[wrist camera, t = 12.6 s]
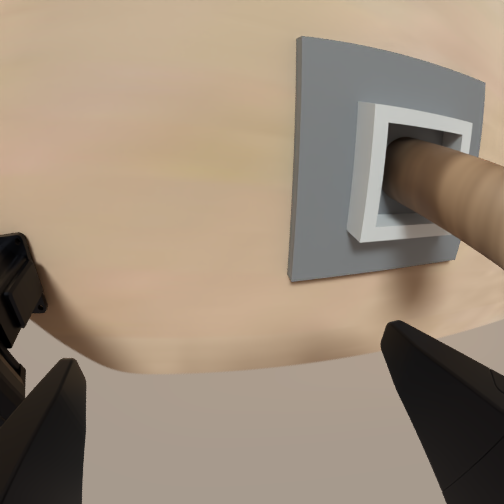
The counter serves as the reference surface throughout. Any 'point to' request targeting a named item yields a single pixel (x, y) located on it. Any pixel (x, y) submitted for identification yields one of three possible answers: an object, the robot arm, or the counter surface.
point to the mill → (449, 192)
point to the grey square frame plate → (369, 155)
